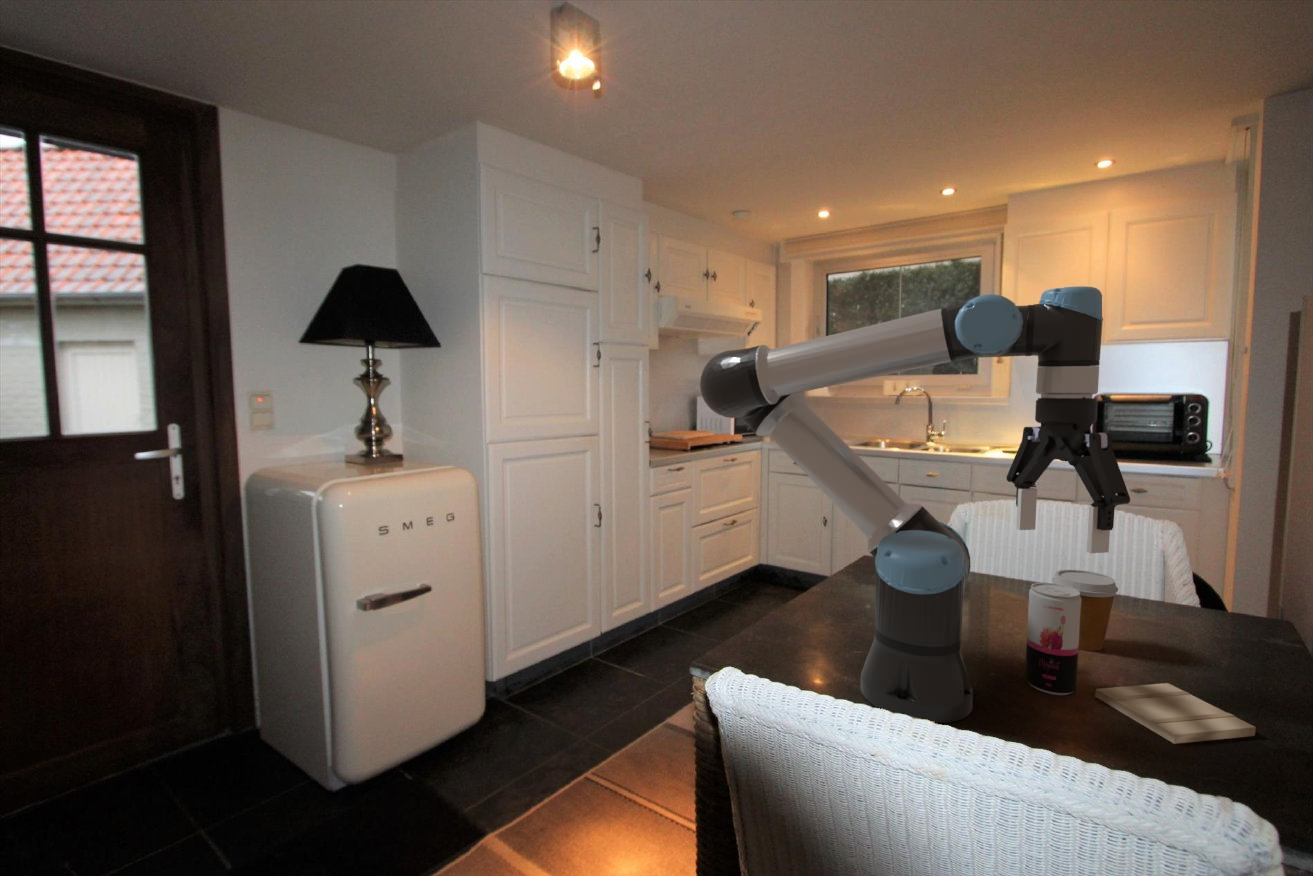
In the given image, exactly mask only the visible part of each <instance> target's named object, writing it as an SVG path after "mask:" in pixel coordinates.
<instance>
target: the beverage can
mask: <svg viewBox="0 0 1313 876" xmlns="http://www.w3.org/2000/svg"><path fill="white" fill-rule="evenodd" d="M1028 593H1029V594H1028V608H1027V609H1028V610H1027V628H1026V629H1027V631H1026V650H1025V667H1024V668H1025V669H1024V670H1025V671H1024V679H1025V681H1026V682H1027V683H1028V684H1029V686H1031V687H1032V688H1034V689H1036V690H1038V691H1040V692H1042V693H1046V694H1049V695H1055V696H1067V695H1070V694H1072V693H1074V692H1075V691H1076V690H1077V681H1078V680H1077V677H1078V661H1079V649H1078V646H1079V629H1080V612H1081V597H1080V592H1079V591H1078V590H1076V589H1074V588H1071V587H1068V586H1064V585H1060V584H1053V582H1052V583H1051V582H1034V583H1032V584H1031V585H1030V589H1029V590H1028Z"/></svg>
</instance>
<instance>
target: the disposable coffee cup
mask: <svg viewBox="0 0 1313 876" xmlns="http://www.w3.org/2000/svg"><path fill="white" fill-rule="evenodd" d="M1053 576H1054V577H1052V578H1051V582H1052V583H1053V584H1060V585H1064V586H1068V587H1071V588H1074V589H1076V590H1078V591H1079V592H1080V597H1081V612H1080V629H1079V646H1078V650H1081V651H1093V652H1094V651H1095V652H1096V651H1101V650H1102V649H1104V643H1105V639H1106V634H1107V629H1108V625H1109V620H1110V617H1111V613H1112V612H1111V611H1112V607H1113V604H1114V598H1115V596H1116V593H1118V590H1119V588H1118V587H1117V586H1116V580H1115V579H1114V578H1111V577H1109V576H1107V575H1105V574H1102V573H1098V572H1094V571H1087V570H1082V569H1081V570H1079V569H1060V570H1057V571H1055V574H1054V575H1053Z"/></svg>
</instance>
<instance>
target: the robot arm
mask: <svg viewBox="0 0 1313 876" xmlns="http://www.w3.org/2000/svg"><path fill="white" fill-rule="evenodd" d="M1103 322H1104V318H1103V294H1102V291H1101V290H1100V289H1098V288H1096V287H1094V286H1083V285H1082V286H1065V287H1059V288H1058V287H1057V288H1051V289H1048V290H1047V289H1046V290H1044V291H1043V292H1042V293H1041V295H1040V300H1039V302H1038V303H1033V304H1028V305H1016V304H1015V302H1013V301H1012V300H1011V299H1009V298H1007V297H1005V296H1003V295H1001V294H999V295H998V294H993V293H992V294H991V293H990V294H989V293H987V294H981V295H978V296H975V297H973V298H972V299H970V300H968V301H967V302H963V303H958V304H955V305H950V306H947V307H945V308H938V309H933V310H929V311H926V312H925V311H924V312H920V313H917V314H912V315H909V316H904V317H900V318H896V319H892V320H888V321H887V320H886V321H884V322H879V323H876V324H875V323H874V324H871V325H867V326H863V327H859V328H855V329H851V330H847V331H842V332H838V333H835V334H830V335H826V336H825V335H824V336H822V337H818V338H814V339H809V340H805V341H801V342H797V343H792V344H789V345H788V344H787V345H785V346H781V347H775V348H770V347H769V346H767V345H766V344H761V345H757V346H756V345H755V346H752V347H747V348H741V349H731V350H725V351H723V352H720V353H717V354H716V355H715V356H713V357H712V358H710V360H708V362H707V363H706V364H705V366H704V367H703V370H702V373H701V375H700V378H699V380H700V381H699V388H700V393H701V396H702V397H701V398H702V399H703V400H704V403H705V404H706V405H707V406H708V408H709V409H710V410H711V411H712V412H714V413H716V414H718V415H719V416H722V417H724V418H728V419H729V418H730V419H738V418H740V419H741V420H742V421H743V423H744V424H746V425H747V427H748V428H750V430H751V431H752V432H753V433H754V434H755V435H756V436H758V437H769V438H771V439H772V440H773V442H775V443H776V444H777V445H778V447H779V448H780V449H781V450H782V451H783V452H784V453H785V454H786V455H787V456H788V457H789V458H790V459H791V460H792V461H793V462H794V463H795V465H797V466H798V467H799V468H800V469H801V470H802V471H803V472H804V474H805V475H807V476H808V477H809V478H810V480H812V482H813V483H814V484H815V485H816V486H817V487H818V488H819V489H820V490H821V491H822V492H823V493H824V494H825V496H827V497H828V498H829V499H830V500H831V502H833V503H834V505H836V506H837V507H838V508H839V510H840V511H841V512H842V513H843V514H844V515H845V516H846V517H847V518H848V519H849V520H850V521H851V522H852V523H853V525H855V526H856V527H857V528H858V529H859V531H861V533H863V535H865V537H866V540H867V552H869V554H870V555H871V556H872V557H873V558H874V565H875V593H874V594H875V598H874V599H875V601H874V606H875V607H874V632H873V633H874V635H873V636H874V637H873V641H872V644H871V646H870V649H869V651H868V654H867V657H866V659H865V662H864V664H863V668H862V670H861V671H860V672H861V673H860V692H861V694H862V695H863V697H864V698H865V699H866V700H867V701H868V702H869V703H870V704H871V705H872V706H874V707H876V708H877V707H880V708H883V709H886V710H890V711H892V712H899V713H902V714H907V715H910V716H914V717H918V718H921V719H928V720H930V721H935V722H936V723H935V724H946V723H952V722H953V723H954V722H957V721H960V720H963V719H965V718H966V717H968V716H969V715H970V714H971V712H972V710H973V698H974V693H973V688H972V685H971V682H970V678H969V675H968V672H967V668H966V665H965V662H964V658H963V656H962V651H961V648H962V647H961V646H962V630H963V629H962V628H963V603H964V594H965V590H966V589H965V588H966V583H967V580H968V578H969V575H970V572H971V554H970V551H969V548H968V546H967V544H966V541H965V540H964V539H963V537H962V536H961V534H960V533H959V532H958V531H956V529H954V528H953V527H951V526H950V525H948V524H946V523H944V522H941V521H939V520H937V519H936V518H935V517H934V516H933V514H931V513H930V512H929V511H928V510H927V509H926V508H925V507H924V506H923V505H922V504H920V503H919V504H918V503H908V502H906V501H905V500H904V499H902V497H900V495H899V494H897V492H895V490H893V488H891V487H890V486H889V484H888V483H886V481H884V479H882V478H881V476H880V475H878V474H877V473H876V472H875V470H873V469H872V467H870V466H869V465H868V464H867V463H866V462H865V461H864V459H862V458H861V457H860V456H859V455H858V454H857V453H856V452H855V451H854V450H853V449H852V448H851V447H850V446H849V445H848V444H847V443H846V442H845V441H844V439H842V438H841V437H840V436H839V435H837V433H836V432H835V431H834V430H833V429H832V428H831V427H830V426H829V425H828V424H827V423H826V422H825V421H824V420H823V419H821V417H820V416H819V415H817V413H816V412H815V411H814V410H812V408H811V407H810V406H809V405H808V404H807V403H806V392H809V391H815V390H818V389H824V388H828V387H829V388H830V387H834V386H838V385H843V384H847V383H852V382H858V381H863V380H868V379H872V378H877V377H878V378H879V377H882V376H887V375H892V374H896V373H902V372H907V371H912V370H916V369H922V368H926V367H932V366H935V365H936V366H937V365H941V364H946V363H951V362H957V361H963V360H967V359H968V360H969V359H972V360H973V359H977V358H1005V357H1007V358H1008V357H1033V356H1034V357H1035V356H1036V357H1037V359H1038V361H1037V369H1036V371H1037V372H1036V386H1035V393H1036V394H1037V395H1040V397H1037V399H1036V400H1035V414H1034V416H1035V417H1034V418H1035V419H1034V420H1035V422H1036V423H1038V424H1040V426H1024V427H1023V430H1022V438H1021V442H1020V444H1019V446H1018V448H1017V450H1016V453H1015V456H1014V459H1012V460H1013V461H1012V463H1011V466H1009V470H1008V473H1007V475H1006V481H1007V482H1008V483H1012V484H1013V485H1014V487H1015V488H1016V493H1015V494H1016V495H1015V496H1016V498H1015V505H1016V507H1017V508H1016V528H1015V529H1016V530H1018V531H1034V530H1036V526H1037V525H1036V521H1037V520H1036V518H1037V502H1038V501H1037V500H1038V499H1037V497H1038V488H1036V487H1037V485H1036V483H1037V481H1038V480H1039V479H1040V477H1041V476H1042V475H1043V474H1044V472H1045V471H1046V470H1047V468H1049V466H1050V464H1051V463H1052V462H1053V461H1054V460H1059V461H1062V462H1067V463H1068V465H1070V466H1072V467H1074V469H1075V472H1077V474H1078V477H1079V478H1080V480H1081V482H1082V483H1083V485H1084V487H1085V488H1086V490H1087V492H1088V494H1089V496H1090V498H1091V499H1092V501H1093V502H1092V503H1090V504H1089V506H1088V515H1087V516H1088V520H1087V536H1086V537H1087V539H1086V553H1089V554H1101V553H1102V554H1105V553H1109V550H1110V549H1109V548H1110V537H1111V536H1110V535H1111V534H1110V532H1111V531H1113V529H1114V524H1115V523H1114V521H1115V520H1114V519H1115V508H1116V507H1117V506H1120V505H1127V504H1129V503H1130V502H1131V497H1130V494H1129V492H1128V489H1127V486H1126V482H1125V480H1124V477H1123V474H1122V472H1121V469H1120V466H1119V464H1118V461H1117V458H1116V455H1115V452H1114V449H1113V435H1112V433H1110V432H1092V425H1094V424H1095V423H1097V420H1098V403H1099V401H1098V400H1097V398H1094V397H1093V395H1096V394H1098V392H1099V379H1100V361H1101V347H1102V337H1103V336H1102V332H1103Z"/></svg>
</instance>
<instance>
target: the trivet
mask: <svg viewBox="0 0 1313 876" xmlns="http://www.w3.org/2000/svg"><path fill="white" fill-rule="evenodd" d="M1094 696H1095V698H1097V699H1098V700H1101V702H1104V703H1105V704H1106V705H1108V706H1110V707H1112V708H1113V709H1115V710H1117V711H1118V712H1120V713H1121V714H1123V715H1125V716H1126V717H1128V718H1130V719H1132V720H1134V721H1135V722H1137V723H1139V725H1142V726H1144V727H1146V728H1147V729H1149V730H1150V731H1152V732H1154V733H1155V734H1157V735H1159V736H1161V737H1162V738H1164V739H1165V740H1167V741H1169V742H1171V743H1172V744H1186V743H1187V744H1188V743H1195V742H1205V741H1206V742H1207V741H1215V740H1216V741H1217V740H1225V739H1227V740H1228V739H1238V738H1246V737H1247V738H1248V737H1255V735H1256V726H1255V725H1252V724H1250V723H1248V722H1246V721H1244V720H1242V719H1241V718H1238V717H1237V716H1236V715H1234V714H1232V713H1230V712H1226V711H1224V710H1223V709H1221V708H1219V707H1217V706H1214V705H1212V704H1211V703H1208V702H1207V701H1204V700H1202V699H1201V698H1199V697H1197V696H1194V695H1192V694H1191V692H1190V693H1189V692H1187V691H1186V690H1182V689H1180V688H1179V687H1176V686H1175V685H1173V684H1171V683H1169V682H1165V683H1154V684H1153V683H1152V684H1151V683H1150V684H1141V685H1140V684H1139V685H1128V686H1115V687H1104V688H1102V687H1101V688H1095V695H1094Z"/></svg>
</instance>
